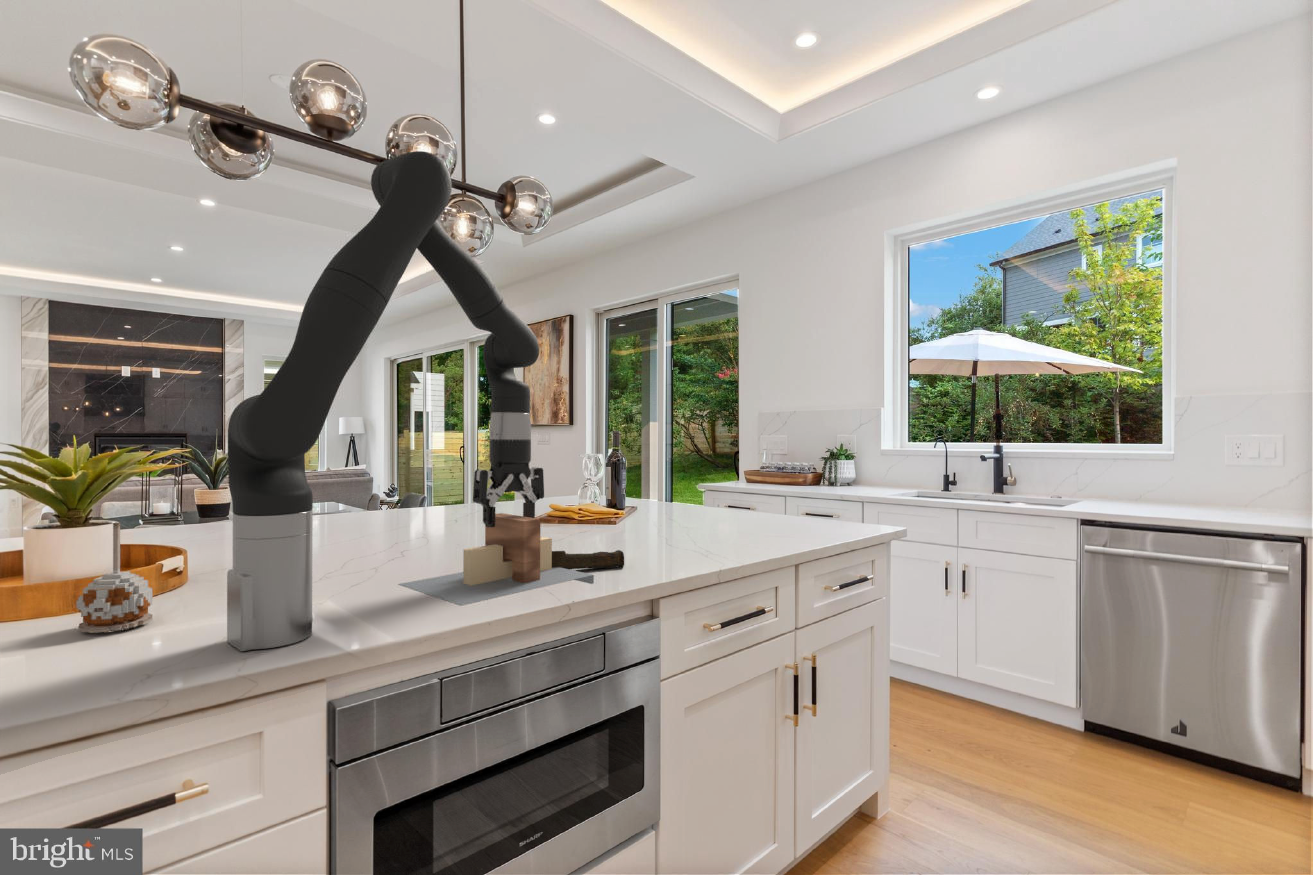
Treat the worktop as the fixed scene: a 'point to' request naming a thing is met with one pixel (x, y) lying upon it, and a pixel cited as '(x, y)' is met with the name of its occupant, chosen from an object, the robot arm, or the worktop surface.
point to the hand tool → (588, 560)
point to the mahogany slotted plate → (517, 544)
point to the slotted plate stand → (493, 576)
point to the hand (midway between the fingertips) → (509, 524)
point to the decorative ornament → (115, 598)
